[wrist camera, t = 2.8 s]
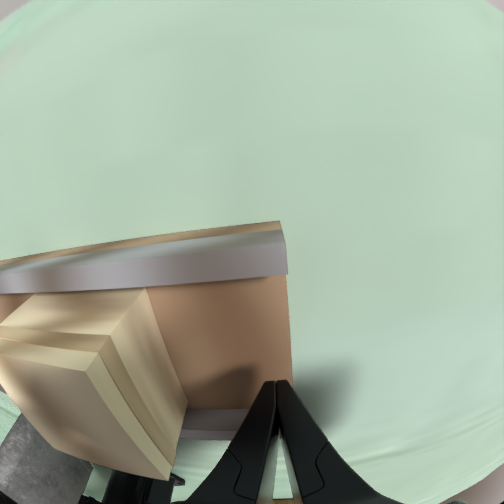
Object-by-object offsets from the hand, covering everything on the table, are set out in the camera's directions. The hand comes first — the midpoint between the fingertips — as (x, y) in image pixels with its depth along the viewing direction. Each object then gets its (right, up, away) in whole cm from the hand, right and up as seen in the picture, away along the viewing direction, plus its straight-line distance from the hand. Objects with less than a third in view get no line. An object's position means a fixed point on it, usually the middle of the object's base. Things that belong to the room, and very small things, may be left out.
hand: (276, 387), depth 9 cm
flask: (-22, -16, +11) cm, 29 cm away
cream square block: (-8, 0, +3) cm, 9 cm away
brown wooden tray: (-14, 0, +4) cm, 15 cm away
